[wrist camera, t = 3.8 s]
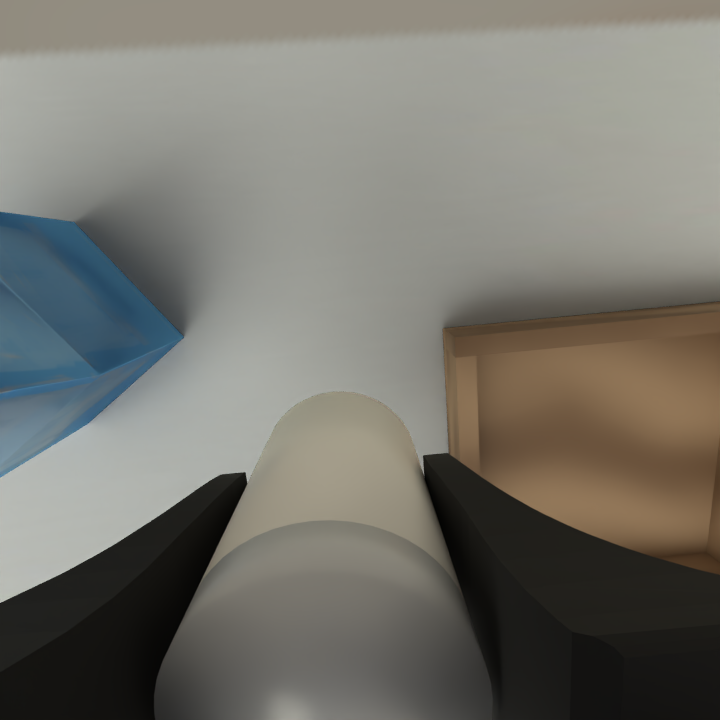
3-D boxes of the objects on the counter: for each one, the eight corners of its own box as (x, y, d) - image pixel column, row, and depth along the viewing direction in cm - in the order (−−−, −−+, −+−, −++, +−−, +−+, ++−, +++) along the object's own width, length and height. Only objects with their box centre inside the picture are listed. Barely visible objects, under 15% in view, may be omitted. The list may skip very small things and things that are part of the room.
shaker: (420, 521, 13) (496, 820, 6) (277, 534, 13) (189, 848, 6) (410, 384, 12) (488, 555, 5) (254, 398, 12) (118, 589, 5)
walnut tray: (712, 557, 21) (753, 591, 19) (455, 581, 21) (466, 617, 19) (743, 299, 18) (796, 304, 16) (442, 328, 18) (454, 337, 16)
